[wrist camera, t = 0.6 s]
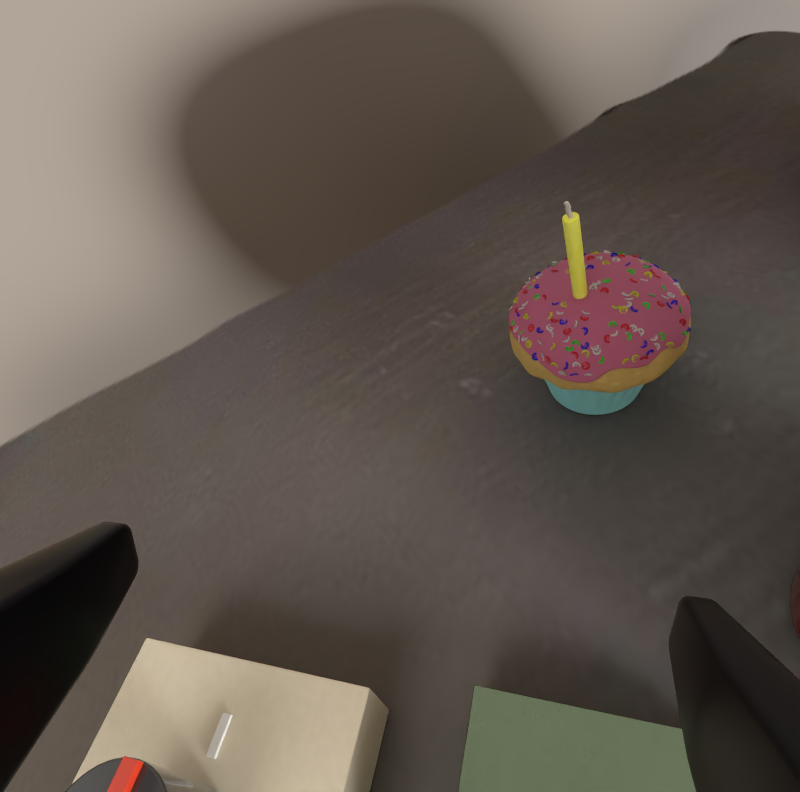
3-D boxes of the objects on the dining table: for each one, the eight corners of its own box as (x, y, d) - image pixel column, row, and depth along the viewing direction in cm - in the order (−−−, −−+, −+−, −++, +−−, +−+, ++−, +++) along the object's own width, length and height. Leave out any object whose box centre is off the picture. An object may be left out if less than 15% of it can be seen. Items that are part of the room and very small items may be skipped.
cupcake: (610, 472, 27) (629, 267, 19) (482, 391, 32) (450, 201, 24) (711, 369, 30) (769, 148, 21) (578, 309, 35) (580, 112, 27)
